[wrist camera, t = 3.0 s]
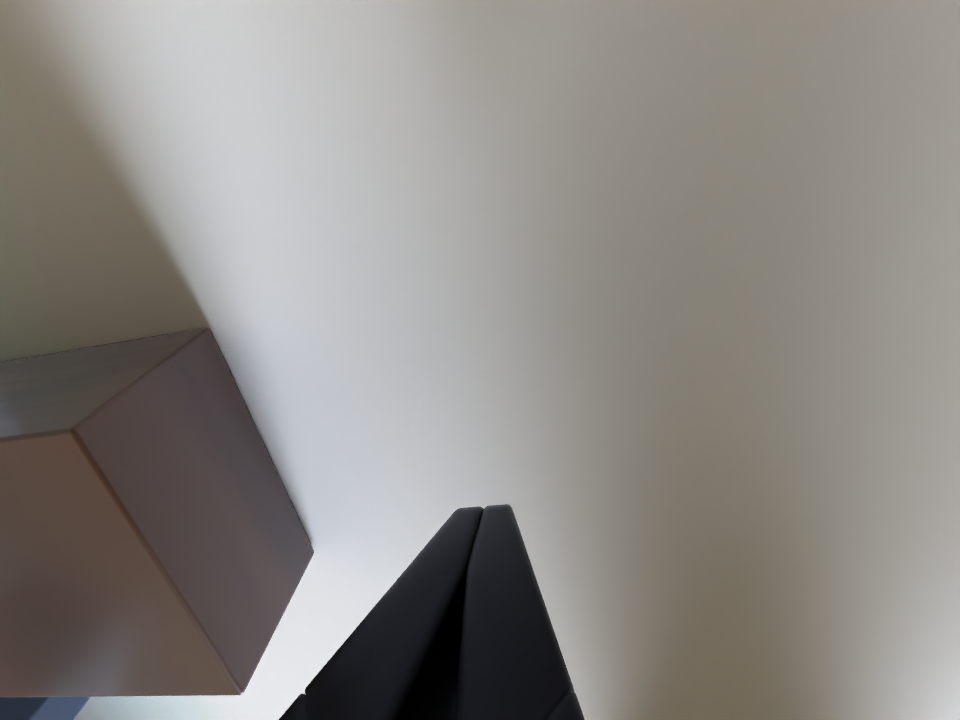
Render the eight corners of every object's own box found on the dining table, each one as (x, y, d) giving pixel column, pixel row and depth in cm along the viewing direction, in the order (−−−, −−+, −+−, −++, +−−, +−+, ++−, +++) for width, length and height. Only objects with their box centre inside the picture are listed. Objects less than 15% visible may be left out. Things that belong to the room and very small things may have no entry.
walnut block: (210, 325, 11) (71, 429, 8) (315, 551, 13) (243, 696, 10) (-32, 366, 12) (-234, 470, 9) (108, 565, 15) (-12, 698, 12)
